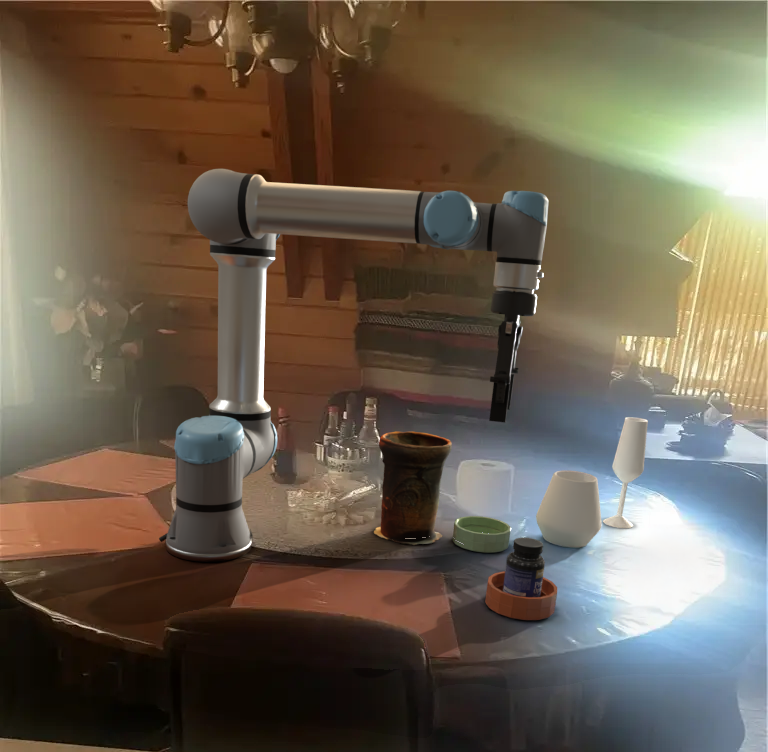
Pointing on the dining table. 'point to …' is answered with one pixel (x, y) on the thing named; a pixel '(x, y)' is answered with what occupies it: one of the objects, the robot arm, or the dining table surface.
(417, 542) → the vessel
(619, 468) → the champagne flute
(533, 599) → the front bowl
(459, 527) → the back bowl
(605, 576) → the dining table surface
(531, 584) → the pill bottle
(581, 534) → the cup
